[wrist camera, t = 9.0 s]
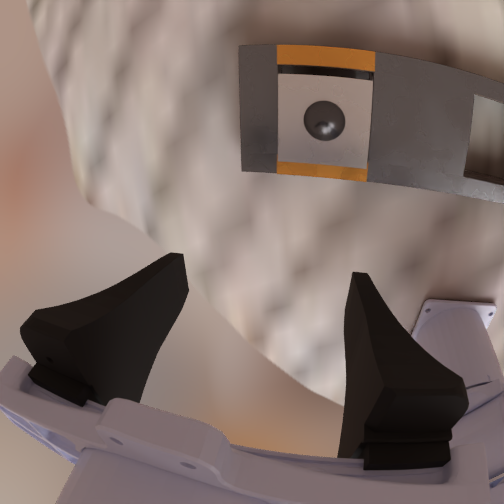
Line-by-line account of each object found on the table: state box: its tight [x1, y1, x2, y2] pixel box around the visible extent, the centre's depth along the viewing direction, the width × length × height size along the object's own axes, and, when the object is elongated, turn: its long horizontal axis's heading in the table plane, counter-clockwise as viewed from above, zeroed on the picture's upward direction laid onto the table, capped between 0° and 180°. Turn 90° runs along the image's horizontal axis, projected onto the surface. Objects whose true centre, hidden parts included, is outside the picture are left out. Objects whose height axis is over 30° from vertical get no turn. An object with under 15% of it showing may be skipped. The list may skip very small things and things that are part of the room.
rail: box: [239, 45, 504, 204], centre depth 16 cm, size 8×22×2 cm, turn 92°
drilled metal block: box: [278, 74, 373, 169], centre depth 15 cm, size 4×4×7 cm
